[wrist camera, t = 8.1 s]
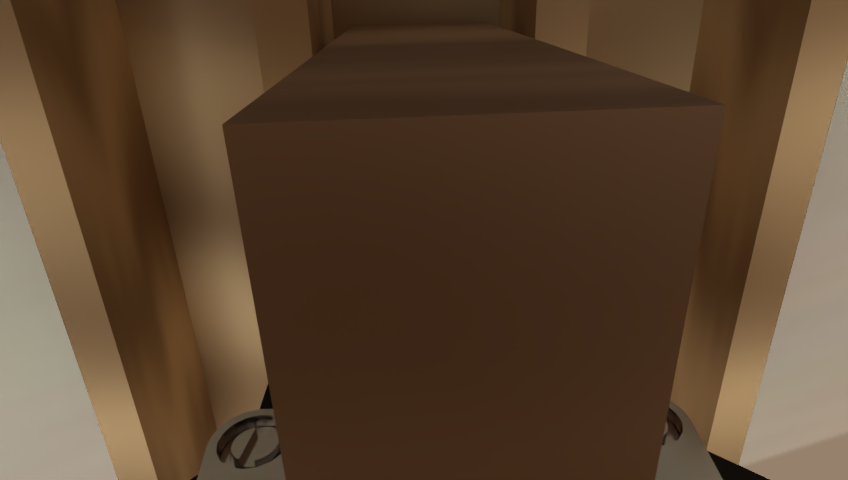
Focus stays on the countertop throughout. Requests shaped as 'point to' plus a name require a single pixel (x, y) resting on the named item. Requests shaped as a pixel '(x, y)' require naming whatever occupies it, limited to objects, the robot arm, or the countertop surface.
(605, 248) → the board
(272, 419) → the robot arm
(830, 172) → the countertop surface
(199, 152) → the rack
